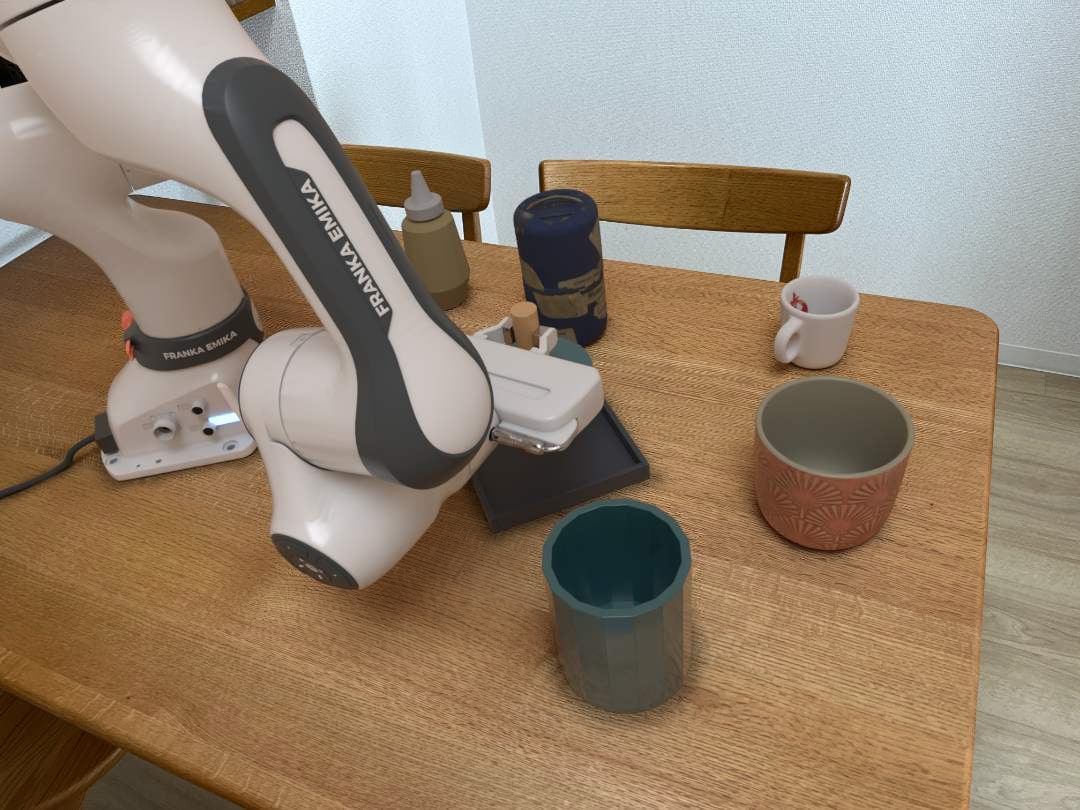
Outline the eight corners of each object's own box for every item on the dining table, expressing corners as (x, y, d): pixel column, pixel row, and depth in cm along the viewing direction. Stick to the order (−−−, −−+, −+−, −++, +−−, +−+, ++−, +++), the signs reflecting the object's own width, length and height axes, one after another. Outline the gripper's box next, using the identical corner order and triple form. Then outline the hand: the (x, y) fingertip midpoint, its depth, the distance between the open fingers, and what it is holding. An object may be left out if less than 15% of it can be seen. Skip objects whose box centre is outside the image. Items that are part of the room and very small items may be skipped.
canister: (602, 356, 94) (590, 217, 82) (523, 354, 96) (501, 218, 85) (613, 309, 101) (603, 175, 89) (539, 308, 103) (520, 177, 92)
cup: (806, 400, 84) (813, 339, 79) (744, 369, 89) (747, 310, 84) (864, 351, 89) (875, 291, 84) (803, 325, 94) (809, 266, 89)
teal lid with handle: (496, 435, 71) (480, 362, 66) (463, 366, 79) (446, 296, 74) (613, 396, 73) (607, 322, 68) (568, 333, 81) (560, 262, 76)
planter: (904, 570, 67) (929, 480, 60) (751, 562, 70) (758, 474, 63) (881, 464, 77) (901, 375, 69) (746, 460, 79) (752, 374, 72)
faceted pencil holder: (589, 734, 60) (574, 639, 52) (542, 624, 68) (522, 526, 60) (714, 683, 62) (718, 583, 54) (655, 581, 70) (650, 481, 61)
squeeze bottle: (442, 277, 112) (413, 153, 100) (487, 291, 108) (463, 163, 96) (403, 307, 107) (368, 181, 96) (448, 322, 103) (417, 193, 92)
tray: (493, 534, 76) (489, 520, 75) (452, 434, 87) (448, 421, 86) (650, 478, 79) (649, 464, 77) (590, 389, 90) (589, 375, 89)
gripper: (551, 428, 58) (634, 323, 66) (340, 364, 67) (436, 278, 76) (561, 488, 62) (637, 382, 71) (360, 420, 71) (449, 333, 80)
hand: (532, 328), depth 73 cm, fingers closed on teal lid with handle, 2 cm apart
